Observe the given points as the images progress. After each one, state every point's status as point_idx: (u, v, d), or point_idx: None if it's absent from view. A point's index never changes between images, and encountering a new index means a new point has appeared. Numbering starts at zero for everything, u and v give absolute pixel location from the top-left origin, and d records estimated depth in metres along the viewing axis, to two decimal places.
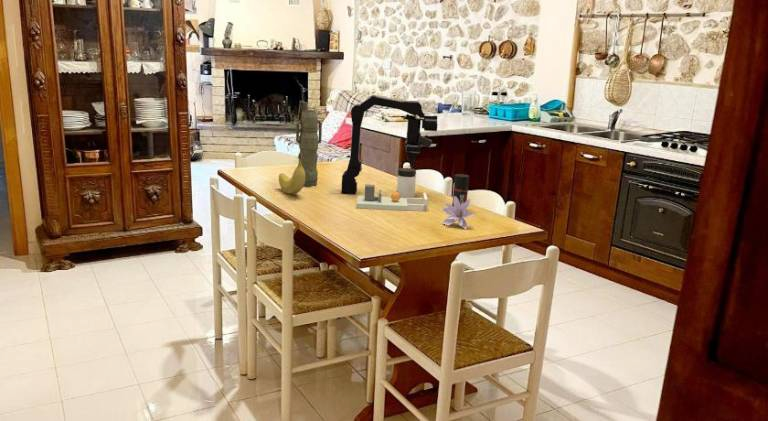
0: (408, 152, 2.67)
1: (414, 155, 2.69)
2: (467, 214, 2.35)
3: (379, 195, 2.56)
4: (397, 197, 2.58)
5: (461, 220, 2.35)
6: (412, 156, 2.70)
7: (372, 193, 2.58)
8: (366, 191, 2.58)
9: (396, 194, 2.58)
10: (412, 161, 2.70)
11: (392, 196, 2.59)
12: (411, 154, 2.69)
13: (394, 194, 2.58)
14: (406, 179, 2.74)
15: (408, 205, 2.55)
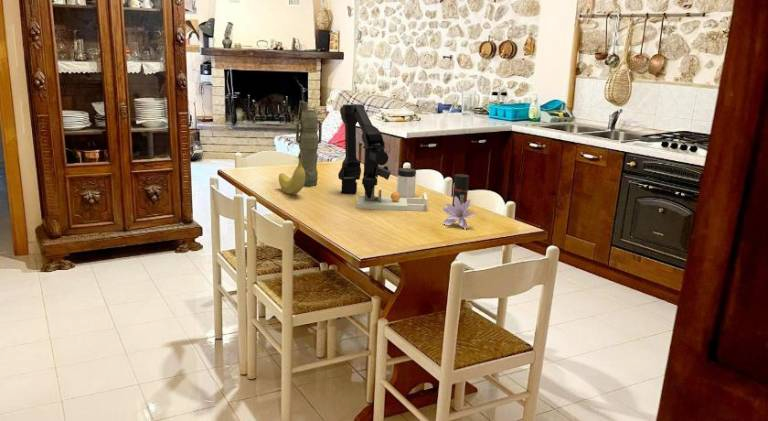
0: None
1: (371, 187, 2.55)
2: (467, 214, 2.35)
3: (379, 195, 2.56)
4: (397, 197, 2.58)
5: (461, 220, 2.35)
6: (369, 188, 2.56)
7: (372, 193, 2.58)
8: None
9: (396, 194, 2.58)
10: (369, 193, 2.57)
11: (392, 196, 2.59)
12: (368, 185, 2.56)
13: (394, 194, 2.58)
14: (406, 179, 2.74)
15: (408, 205, 2.55)
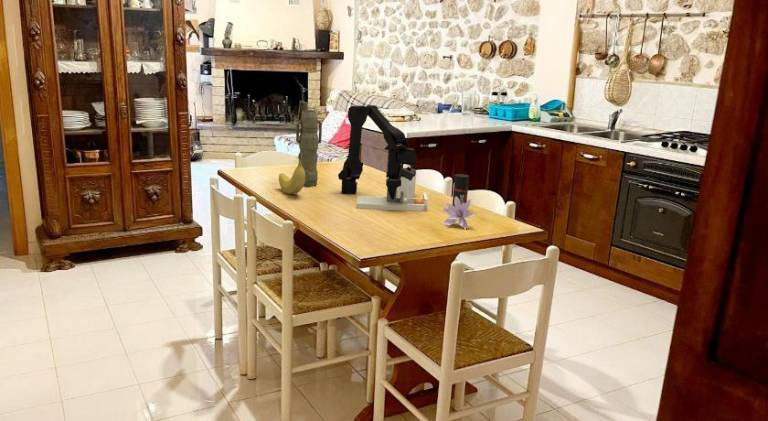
0: None
1: (395, 188, 2.55)
2: (468, 214, 2.35)
3: (401, 196, 2.56)
4: (418, 201, 2.59)
5: (462, 220, 2.35)
6: (393, 189, 2.56)
7: None
8: None
9: (415, 201, 2.59)
10: (393, 194, 2.57)
11: None
12: (391, 186, 2.56)
13: (415, 203, 2.59)
14: (406, 179, 2.74)
15: (408, 205, 2.55)
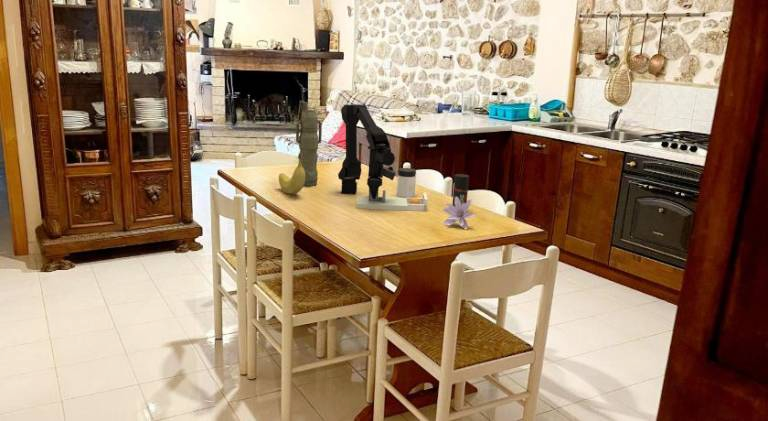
0: (369, 184, 2.53)
1: (376, 187, 2.55)
2: (468, 214, 2.35)
3: (383, 195, 2.56)
4: (413, 201, 2.59)
5: (462, 220, 2.35)
6: (374, 189, 2.56)
7: None
8: None
9: (411, 203, 2.59)
10: (374, 193, 2.57)
11: None
12: (373, 186, 2.56)
13: None
14: (406, 179, 2.74)
15: (408, 205, 2.55)
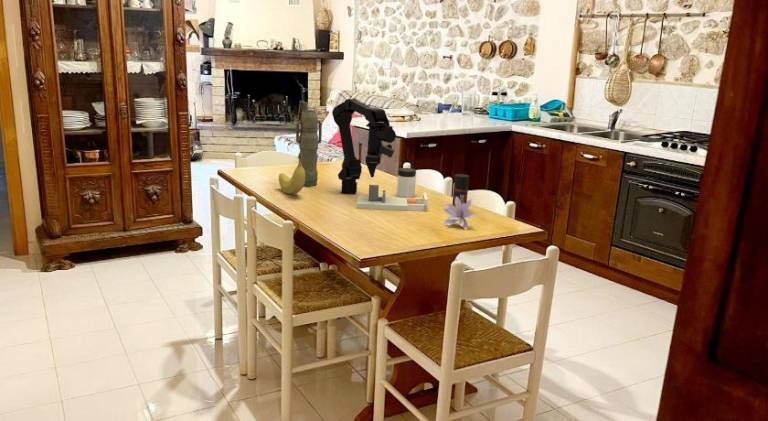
0: (368, 162, 2.55)
1: (374, 165, 2.57)
2: (468, 214, 2.34)
3: (383, 195, 2.56)
4: (410, 202, 2.59)
5: (462, 220, 2.35)
6: (373, 167, 2.58)
7: (376, 193, 2.58)
8: (371, 192, 2.58)
9: None
10: (372, 171, 2.58)
11: None
12: (371, 164, 2.57)
13: None
14: (406, 179, 2.74)
15: (408, 205, 2.55)
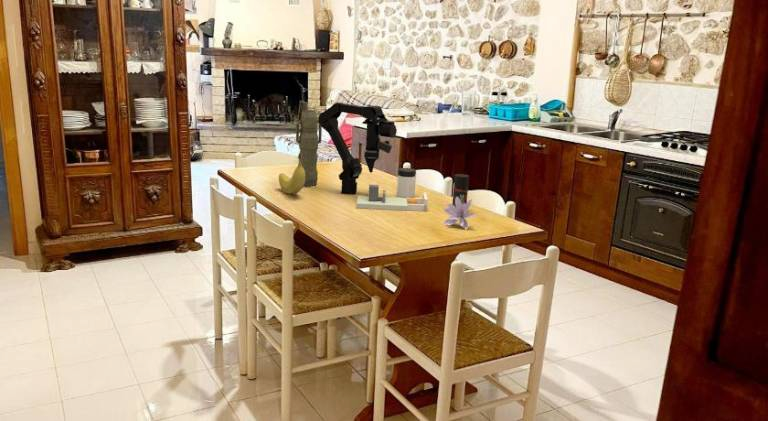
0: (366, 158, 2.62)
1: (373, 161, 2.64)
2: (468, 214, 2.34)
3: (383, 195, 2.56)
4: (410, 202, 2.59)
5: (462, 220, 2.35)
6: (371, 162, 2.65)
7: (376, 193, 2.58)
8: (371, 192, 2.58)
9: None
10: (371, 167, 2.65)
11: None
12: (370, 160, 2.64)
13: None
14: (406, 179, 2.74)
15: (408, 205, 2.55)
